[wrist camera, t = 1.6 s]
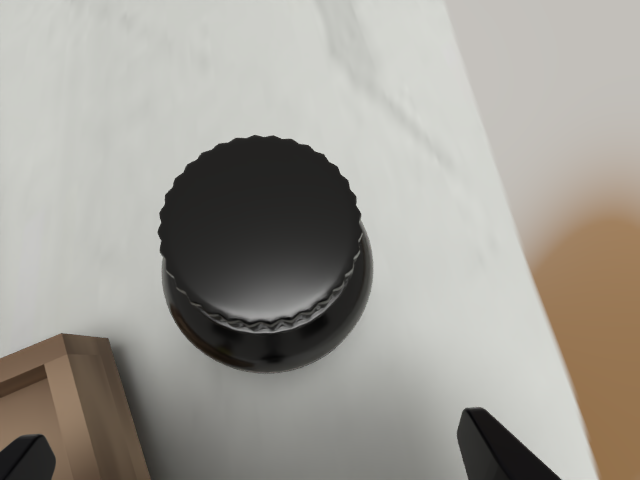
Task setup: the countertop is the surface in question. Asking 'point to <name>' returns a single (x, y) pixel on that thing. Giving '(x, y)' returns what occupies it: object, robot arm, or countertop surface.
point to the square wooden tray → (72, 408)
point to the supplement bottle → (264, 255)
